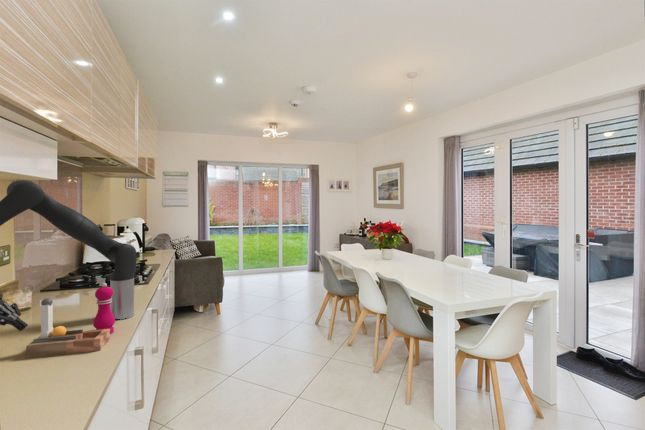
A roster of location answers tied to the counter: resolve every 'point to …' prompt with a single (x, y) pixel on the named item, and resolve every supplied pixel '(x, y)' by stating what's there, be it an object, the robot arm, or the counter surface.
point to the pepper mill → (104, 309)
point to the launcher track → (69, 343)
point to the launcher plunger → (46, 318)
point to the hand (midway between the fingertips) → (24, 328)
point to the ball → (59, 331)
